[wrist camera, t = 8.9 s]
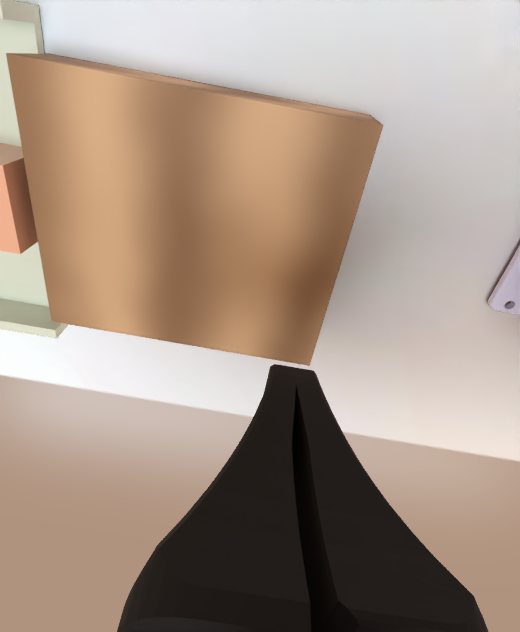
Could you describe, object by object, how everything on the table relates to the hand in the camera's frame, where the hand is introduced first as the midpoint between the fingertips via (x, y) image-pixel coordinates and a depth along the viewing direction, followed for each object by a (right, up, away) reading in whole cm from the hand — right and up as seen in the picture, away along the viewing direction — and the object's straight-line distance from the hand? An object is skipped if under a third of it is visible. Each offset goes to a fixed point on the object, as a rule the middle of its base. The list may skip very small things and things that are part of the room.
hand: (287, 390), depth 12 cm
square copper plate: (-4, +7, +8) cm, 11 cm away
